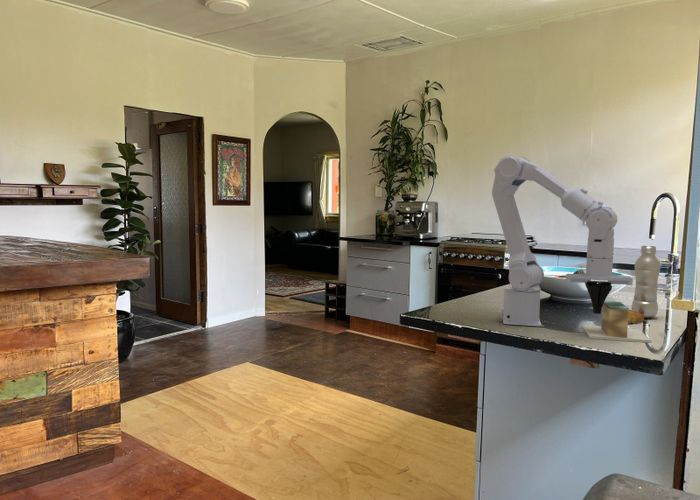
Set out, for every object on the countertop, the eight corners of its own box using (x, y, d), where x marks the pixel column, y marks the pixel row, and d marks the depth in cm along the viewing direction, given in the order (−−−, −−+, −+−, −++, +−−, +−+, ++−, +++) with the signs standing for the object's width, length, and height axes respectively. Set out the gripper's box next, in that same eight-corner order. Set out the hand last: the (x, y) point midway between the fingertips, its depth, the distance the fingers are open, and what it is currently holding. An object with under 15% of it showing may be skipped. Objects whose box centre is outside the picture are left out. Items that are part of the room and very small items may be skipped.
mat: (590, 338, 122) (590, 335, 122) (582, 327, 133) (582, 325, 133) (651, 342, 119) (651, 340, 119) (638, 331, 129) (638, 328, 129)
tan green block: (608, 336, 122) (609, 307, 121) (601, 328, 129) (602, 300, 129) (626, 337, 121) (628, 308, 120) (618, 329, 128) (620, 301, 128)
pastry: (631, 318, 145) (632, 304, 145) (651, 323, 139) (652, 310, 138) (603, 320, 142) (604, 306, 142) (623, 326, 136) (624, 311, 136)
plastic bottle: (653, 315, 148) (658, 245, 146) (660, 320, 141) (665, 247, 139) (628, 313, 149) (632, 245, 147) (634, 319, 143) (639, 247, 141)
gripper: (569, 258, 123) (567, 314, 124) (637, 260, 119) (634, 318, 120) (565, 255, 129) (563, 308, 131) (629, 257, 126) (626, 312, 127)
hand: (596, 312), depth 126 cm, fingers closed
